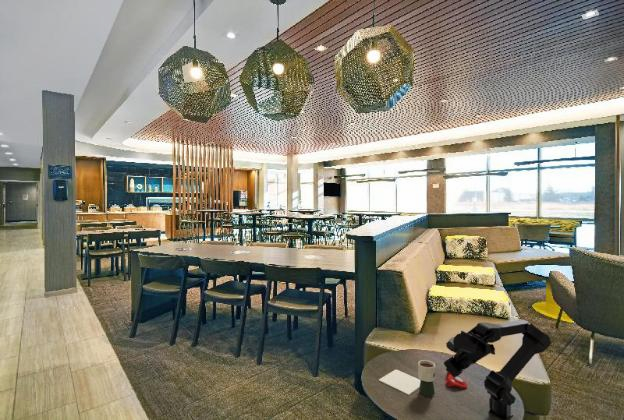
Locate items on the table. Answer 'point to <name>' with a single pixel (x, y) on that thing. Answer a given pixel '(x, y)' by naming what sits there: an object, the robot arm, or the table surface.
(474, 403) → the table surface
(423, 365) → the character mug
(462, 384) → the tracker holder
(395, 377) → the oatmeal mat
